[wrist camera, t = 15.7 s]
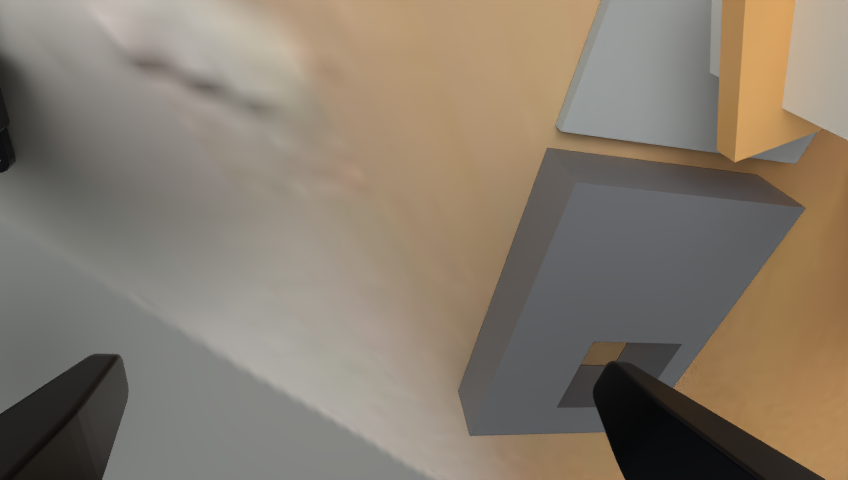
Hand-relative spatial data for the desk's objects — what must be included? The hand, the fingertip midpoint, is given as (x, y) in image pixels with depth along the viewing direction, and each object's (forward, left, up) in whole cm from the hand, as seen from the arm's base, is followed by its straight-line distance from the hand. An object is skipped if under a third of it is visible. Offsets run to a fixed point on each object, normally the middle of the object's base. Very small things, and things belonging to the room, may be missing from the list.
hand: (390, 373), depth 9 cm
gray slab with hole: (+13, -8, -12) cm, 20 cm away
